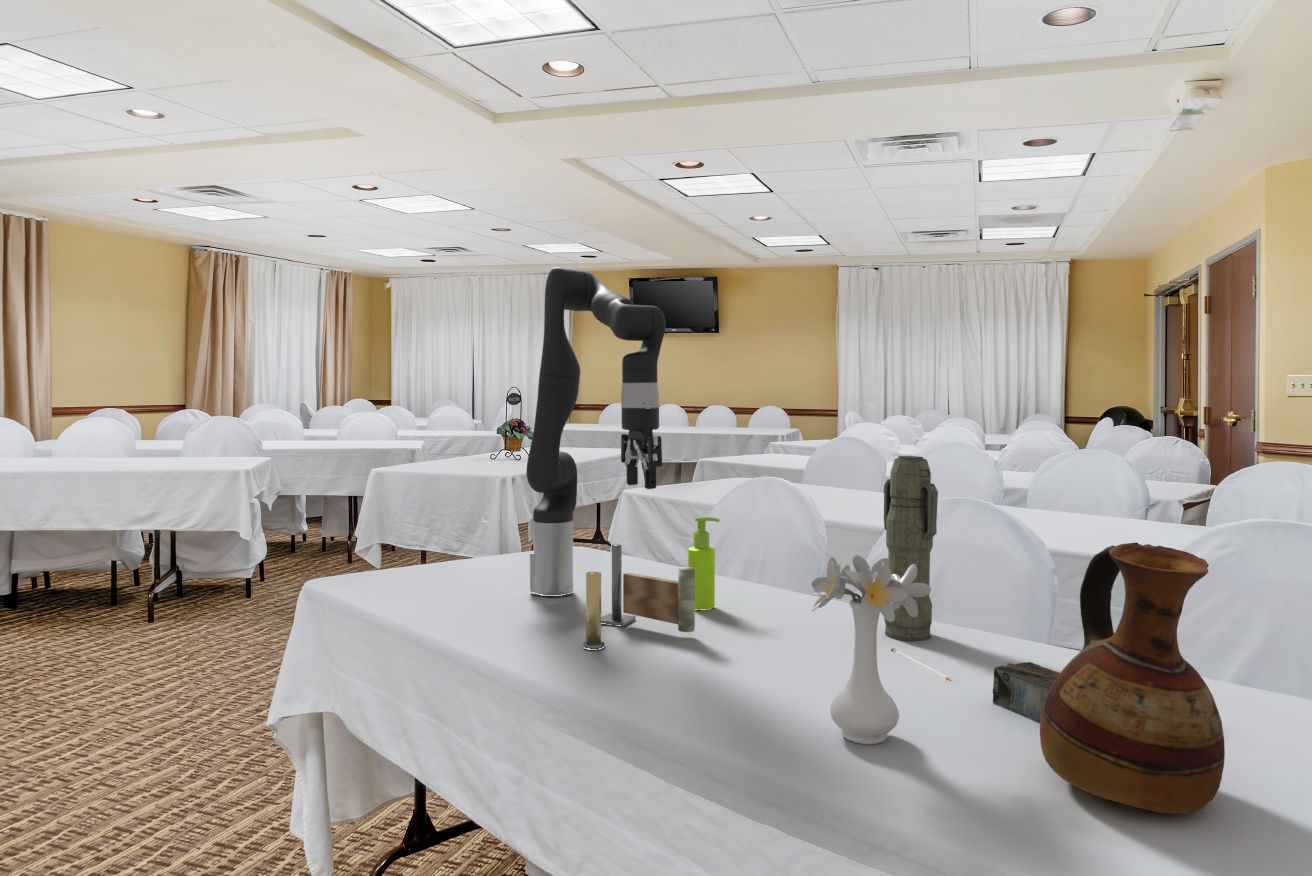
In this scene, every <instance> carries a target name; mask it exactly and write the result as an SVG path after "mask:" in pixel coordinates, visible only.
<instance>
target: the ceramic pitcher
mask: <svg viewBox="0 0 1312 876" xmlns="http://www.w3.org/2000/svg"><path fill="white" fill-rule="evenodd" d="M1208 568H1209V563H1208V562H1207V561H1206V559H1204V558H1202V557H1199V556H1197V555H1195V554H1193V553H1191V552H1187V551H1183V550H1181V549H1177V548H1172V547H1166V546H1163V545H1161V544H1160V545H1157V546H1156V545H1152V544H1150V543H1147V544H1146V543H1145V544H1140V543H1139V542H1129V543H1127V542H1126V543H1120V544H1117V545H1110V546H1107V547H1105V548H1104V549H1102V551H1100V552H1098V553H1097V554H1095V555H1094V556H1093V557H1092V559H1091V560H1090V561H1089V563H1088V565H1087V568H1086V570H1085V574H1084V576H1083V580H1082V582H1081V585H1080V591H1079V607H1080V617H1081V623H1082V630H1083V638H1084V640H1083V641H1084V642H1083V647H1082V649H1081V650H1080V652H1079V653H1077V654H1076V655H1075V656H1074V657H1073V658H1072V659H1071V660H1070V661H1069V662H1068V663H1067V664H1066V665H1065V666H1064V668H1063V669H1062V670H1061V672H1059V673H1060V674H1059V676H1058V677H1057V679H1056V680H1055V681H1054V683H1053V685H1052V687H1051V689H1050V691H1049V693H1048V695H1047V698H1046V700H1045V703H1044V706H1043V710H1042V714H1041V722H1040V724H1039V739H1040V742H1039V743H1040V746H1041V751H1042V755H1043V757H1044V761H1045V762H1046V763H1047V765H1048V766H1049V768H1051V769H1052V770H1053V772H1054V773H1055V774H1056V775H1058V776H1059V777H1060V778H1061V779H1062V780H1064V781H1065V782H1067V783H1068V784H1070V785H1072V786H1074V787H1077V788H1078V789H1080V790H1082V791H1084V792H1087V793H1090V794H1092V795H1095V796H1097V797H1100V798H1102V799H1106V800H1110V801H1114V802H1117V803H1120V804H1124V805H1127V806H1128V807H1129V806H1130V807H1133V808H1137V809H1138V808H1139V809H1143V810H1148V811H1154V812H1157V813H1167V814H1188V813H1193V812H1196V811H1199V810H1202V809H1203V808H1204V807H1206V806H1207V805H1208V804H1209V803H1211V801H1213V799H1214V798H1215V797H1216V795H1217V793H1218V791H1219V789H1220V786H1221V783H1222V780H1223V779H1222V778H1223V772H1224V768H1225V757H1226V755H1225V753H1226V752H1225V751H1226V749H1225V736H1224V729H1223V722H1222V719H1221V716H1220V713H1219V710H1218V707H1217V706H1218V705H1217V703H1216V700H1215V697H1214V695H1213V693H1212V692H1211V690H1210V688H1209V686H1208V685H1207V683H1206V682H1205V680H1204V679H1203V677H1202V676H1201V675H1200V673H1199V672H1198V670H1196V668H1194V667H1193V665H1192V664H1191V663H1189V662H1188V661H1187V660H1185V658H1184V657H1183V656H1182V654H1181V652H1180V649H1179V642H1178V628H1179V627H1178V626H1179V621H1180V618H1181V615H1182V612H1183V607H1184V603H1185V599H1186V597H1187V595H1188V593H1189V590H1190V589H1192V587H1193V586H1194V585H1195V584H1196V583H1197V582H1199V581H1200V580H1202V578H1204V577H1206V575H1208V573H1209V569H1208ZM1119 573H1120V574H1121V576H1122V578H1123V579H1122V580H1123V583H1124V603H1123V609H1122V613H1121V618H1120V620H1119V622H1118V624H1117V627H1116V630H1115V632H1114V627H1113V622H1112V621H1113V620H1112V611H1111V609H1112V608H1111V605H1112V603H1111V601H1112V591H1113V586H1114V583H1115V582H1116V579H1117V577H1118V575H1119Z"/></svg>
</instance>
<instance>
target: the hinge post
mask: <svg viewBox="0 0 1312 876" xmlns="http://www.w3.org/2000/svg"><path fill="white" fill-rule="evenodd" d="M622 556H623V555H622V544H620V543H619V544H618V543H617V544H616V543H615V544H612V545H611V612H610V613H607V614H606V615H604V616H601V623H606V624H612V625H621V626H625V625H627V624H628V625H630V624H631V623H630V622H632V621H633V620H635V619H636V617H637V616H636V615H631V614H622V612H623V611H622V609H623V607H622V606H623V605H622V604H623V601H622V599H623V594H622V593H623V590H622V589H623V587H622V585H623V581H622V580H623V578H622V577H623V576H622V575H623V574H622V573H623V572H622ZM636 620H637V619H636ZM636 620H635V621H636ZM633 622H634V621H633ZM633 622H632V623H633ZM629 623H630V624H629ZM628 625H627V626H628ZM625 627H626V626H625Z"/></svg>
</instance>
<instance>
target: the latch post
mask: <svg viewBox="0 0 1312 876" xmlns="http://www.w3.org/2000/svg"><path fill="white" fill-rule="evenodd" d="M601 618H602V572H601V571H587V572H586V573H585V637H586V638H585V641H584V642H583V643H582V648H583V647H585V648H590V649H599V648H602V647H604V648H605V642H604V641H602V625H601Z"/></svg>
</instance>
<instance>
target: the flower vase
mask: <svg viewBox="0 0 1312 876" xmlns="http://www.w3.org/2000/svg"><path fill="white" fill-rule="evenodd" d="M851 560H852V565H853V567H854V570H851V566H850V565H849V564H846V565H844V566H843V567H842V568H841V566H842V564H841V563H839V564H838V563H837V560H836V558H835V557H830V558H829V559H828V562H827V565H826V567H827V570H826V576H819V577H816V578H814V579H813V581H812V582H811V587H812V589H813V590H812V591H813V595H815V596H820V598H818V599H817V600H816V601H815V603H814V604H813V607H812V611H813V612H814V611H816V610H817V609H818V608H819V609H820V608H823V607H825V606H826V605H827V604H828V603H829V602H830V601H831V600H833V599H834V598H835V599H836V600H842V598H843V597H844V595H848V596H851V598H852V599H850V601H849V605H850V608H851V610H852V615H853V623H854V646H853V647H854V648H853V663H852V668H851V672H850V676H849V680H848V681H847V683H846V685H845V686H844V688H843V689H841V690H840V691H839V692H838V693H837V694H836V696H835V697H834V698H833V700H832V701H831V704H830V709H829V712H830V717H831V719H832V721H833V723H835V724H836V726H837V727H838V728H839V729H840V730H841V731H840V733H841V735H842V737H843V738H844V739H845V738H846V739H845V740H847V741H849V742H851V741H852V742H851V743H855V744H859V743H860V745H877V744H878V745H879V744H881V743H883V742H884V741H886V739H887V738H888V734H889V733H890V732H891V731H893V730H894V729H895V727H896V726H897V725H898V722H899V720H900V712H899V709H898V706H897V704H896V701H895V700H894V699H893V698H892V697H891V696H890V694H889V693H888V692H887V691H886V690H885V688H884V686H883V684H882V682H881V679H880V675H879V674H880V673H879V669H878V650H877V647H878V646H877V644H878V643H877V634H878V633H877V632H878V626H879V625H878V624H879V618H880V614H881V615H882V616H883V619H884V618H885V619H886V620H888V621H889V622H893V621H894V620H895V613H894V610H895V609H897V608H898V607H899V606H900V605H903V606H904V607H905V609H906V611H907V612H908V614H909V615H910V616H911V617H914V618H915V617H917V615H918V607H917V604H916V602H915V600H914V599H913V598H912V597H924V596H926V595H928V594H929V595H930V594H931V592H932V588H931V585H930V584H929V585H927V584H924V583H911V582H913V581H914V580H915V578H916V576H917V566H916V565H915V564H912V565H911V566H909V568H908V569H907V570H906V572H905V574H904V576H903V577H902V578H900V576H898V575H896V574H891V570H890V567H889V565H890V561H889V559H888V557H887V558H886V557H883V558H881V559H878V560H877V561H876V562H875V563H874V564H873V565H872V566H871V568H870V565H869V563H868V562H867V560H866V559H865V558H864V557H862V556H861V555H854V556H853V557H852V559H851ZM846 584H848V585H851V586H853V587H854V588H856V589H857V590H858V591H860V594H861V595H860V594H858V593H855V592H853V591H852V590H851V589H848V588H847V587H846ZM911 596H912V597H911ZM888 602H890V603H888Z"/></svg>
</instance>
